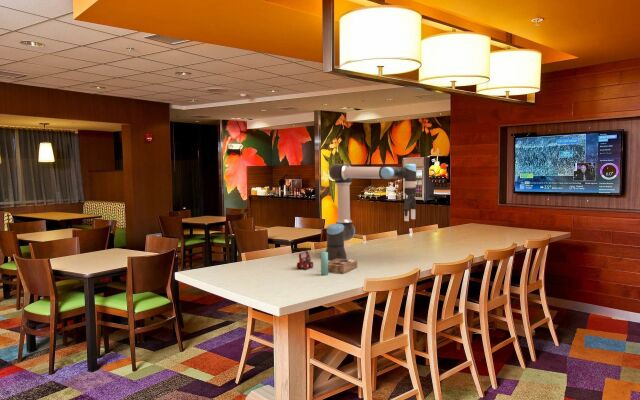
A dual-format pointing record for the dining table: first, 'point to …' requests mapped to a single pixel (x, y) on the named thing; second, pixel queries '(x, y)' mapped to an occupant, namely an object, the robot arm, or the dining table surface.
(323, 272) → the plug
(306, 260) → the dark red rounded figure
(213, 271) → the dining table surface
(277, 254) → the dining table surface
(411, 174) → the robot arm
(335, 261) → the socket board
